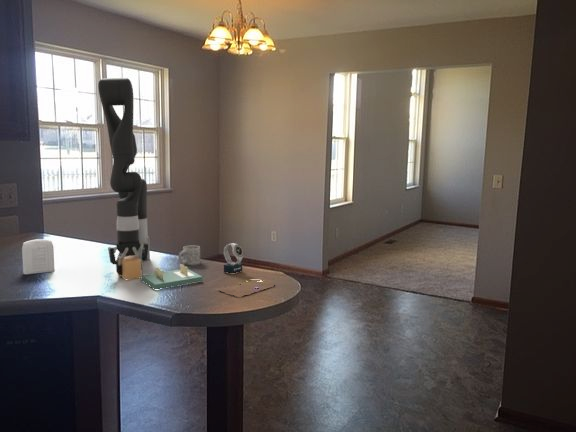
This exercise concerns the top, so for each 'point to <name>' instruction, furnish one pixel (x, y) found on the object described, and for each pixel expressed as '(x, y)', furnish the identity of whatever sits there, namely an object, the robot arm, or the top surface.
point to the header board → (171, 277)
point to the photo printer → (38, 256)
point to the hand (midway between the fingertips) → (129, 273)
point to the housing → (131, 267)
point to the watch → (238, 253)
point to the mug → (190, 255)
